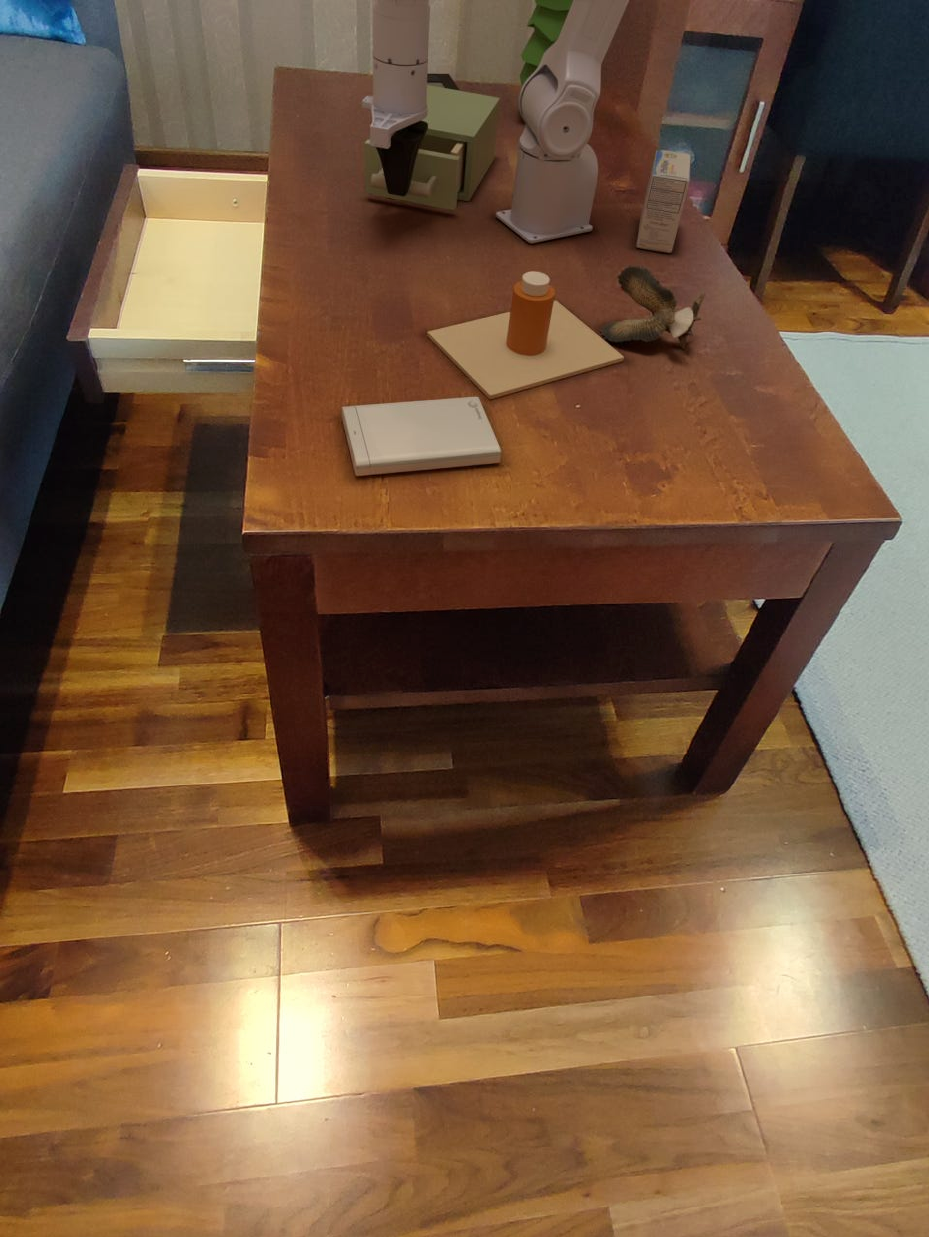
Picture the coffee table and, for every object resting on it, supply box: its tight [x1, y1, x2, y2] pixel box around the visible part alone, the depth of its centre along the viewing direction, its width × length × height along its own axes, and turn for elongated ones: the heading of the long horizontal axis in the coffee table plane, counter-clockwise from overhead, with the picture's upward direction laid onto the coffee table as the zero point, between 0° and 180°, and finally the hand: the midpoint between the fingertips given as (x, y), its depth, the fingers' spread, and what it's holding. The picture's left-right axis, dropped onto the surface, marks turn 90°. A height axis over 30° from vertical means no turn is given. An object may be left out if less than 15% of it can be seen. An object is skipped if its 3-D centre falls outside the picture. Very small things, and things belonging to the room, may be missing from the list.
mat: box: [426, 300, 625, 400], centre depth 84 cm, size 16×12×1 cm
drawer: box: [364, 135, 468, 211], centre depth 103 cm, size 18×11×6 cm, turn 166°
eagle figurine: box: [599, 265, 706, 350], centre depth 85 cm, size 8×7×9 cm
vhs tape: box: [427, 73, 461, 91], centre depth 126 cm, size 8×14×2 cm, turn 14°
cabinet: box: [421, 85, 501, 202], centre depth 108 cm, size 15×13×8 cm
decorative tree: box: [519, 0, 573, 124], centre depth 115 cm, size 10×9×30 cm
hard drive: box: [341, 396, 502, 477], centre depth 72 cm, size 2×8×12 cm
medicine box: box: [635, 149, 692, 254], centre depth 100 cm, size 8×4×9 cm, turn 168°
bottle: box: [506, 270, 556, 356], centre depth 81 cm, size 4×4×7 cm
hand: (397, 192), depth 96 cm, fingers closed
